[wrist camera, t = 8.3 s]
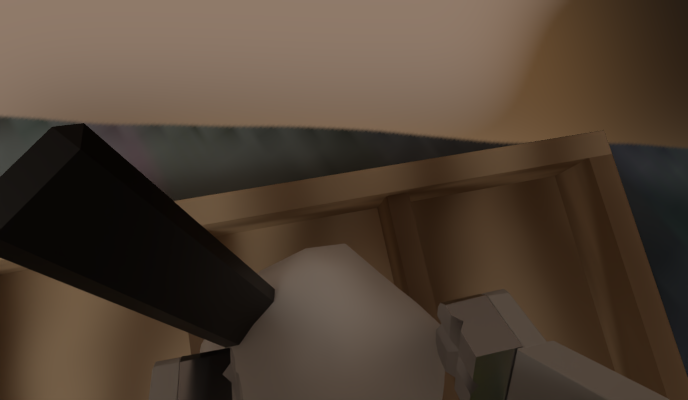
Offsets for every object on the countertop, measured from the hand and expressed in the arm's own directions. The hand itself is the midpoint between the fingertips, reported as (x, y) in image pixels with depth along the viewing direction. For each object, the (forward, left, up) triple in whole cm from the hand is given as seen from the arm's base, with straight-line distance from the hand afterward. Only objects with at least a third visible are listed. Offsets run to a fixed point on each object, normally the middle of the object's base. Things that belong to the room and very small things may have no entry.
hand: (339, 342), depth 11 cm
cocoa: (0, +1, -7) cm, 7 cm away
